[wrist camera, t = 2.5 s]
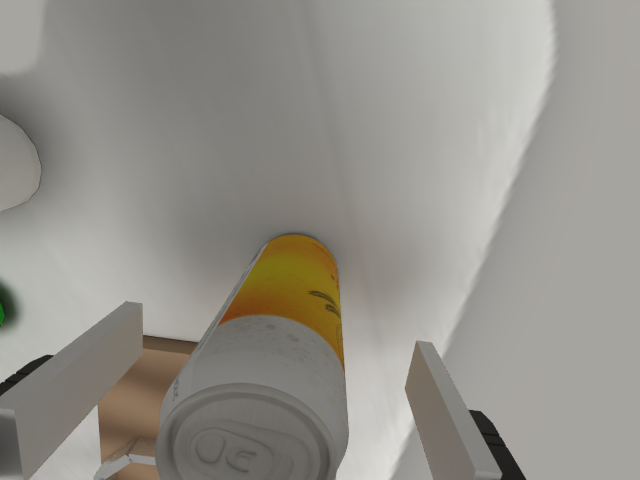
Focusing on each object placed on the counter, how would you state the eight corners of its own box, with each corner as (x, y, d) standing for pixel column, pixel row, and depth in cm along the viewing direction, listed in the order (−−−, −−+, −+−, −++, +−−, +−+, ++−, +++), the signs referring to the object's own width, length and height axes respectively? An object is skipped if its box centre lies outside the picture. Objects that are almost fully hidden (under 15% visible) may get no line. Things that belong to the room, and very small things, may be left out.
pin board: (106, 330, 26) (93, 341, 24) (310, 358, 26) (309, 370, 24) (115, 499, 31) (104, 517, 29) (286, 521, 31) (284, 539, 30)
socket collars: (98, 344, 24) (84, 357, 23) (309, 372, 25) (308, 387, 23) (109, 514, 29) (98, 533, 28) (284, 536, 29) (282, 557, 28)
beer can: (318, 321, 25) (303, 562, 11) (242, 291, 25) (119, 503, 10) (351, 250, 23) (387, 424, 9) (271, 217, 23) (172, 345, 8)
